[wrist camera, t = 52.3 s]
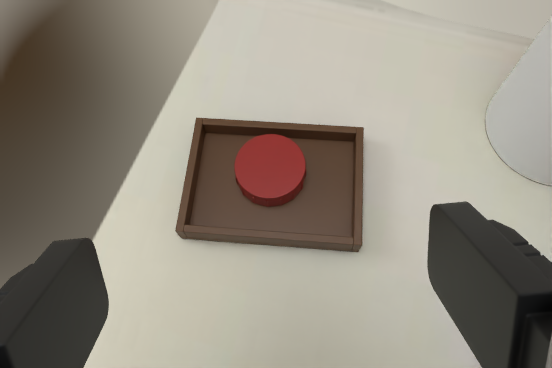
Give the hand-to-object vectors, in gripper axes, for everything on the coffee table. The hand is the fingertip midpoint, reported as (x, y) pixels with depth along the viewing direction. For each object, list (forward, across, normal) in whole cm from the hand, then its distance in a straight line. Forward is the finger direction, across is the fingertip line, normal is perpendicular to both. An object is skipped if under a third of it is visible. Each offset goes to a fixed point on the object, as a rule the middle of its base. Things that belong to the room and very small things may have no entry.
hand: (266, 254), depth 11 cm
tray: (+25, 0, -8) cm, 26 cm away
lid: (+24, 0, -6) cm, 25 cm away
